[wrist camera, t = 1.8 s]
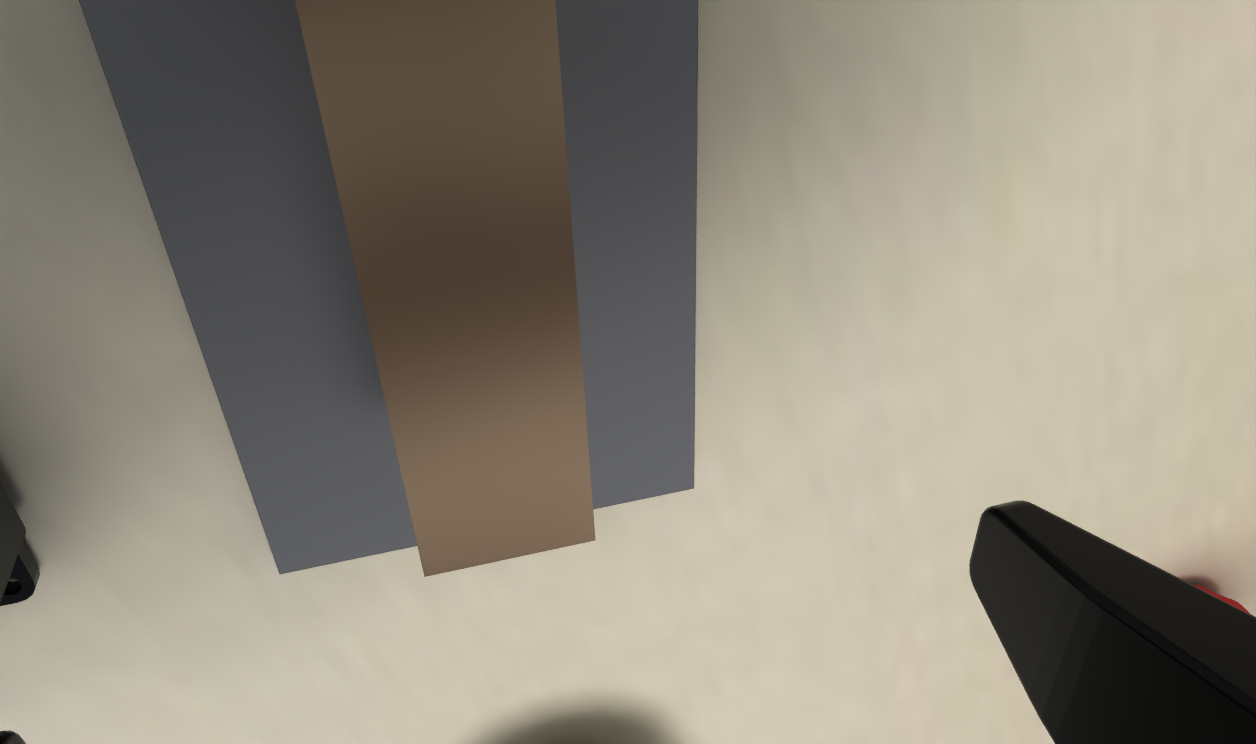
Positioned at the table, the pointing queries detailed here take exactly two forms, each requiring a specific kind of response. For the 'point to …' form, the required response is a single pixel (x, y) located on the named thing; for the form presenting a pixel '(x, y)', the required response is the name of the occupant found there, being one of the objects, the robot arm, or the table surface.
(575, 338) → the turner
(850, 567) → the table surface
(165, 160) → the grey rectangular plate
